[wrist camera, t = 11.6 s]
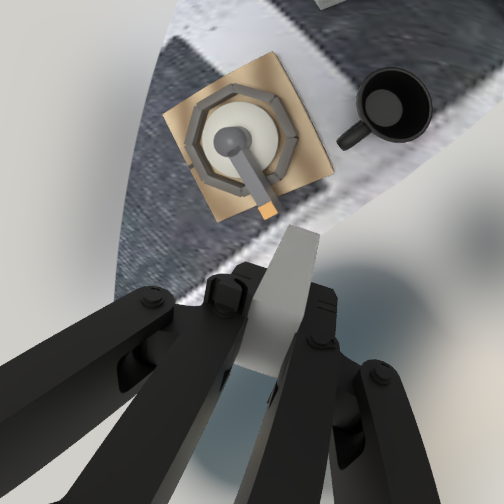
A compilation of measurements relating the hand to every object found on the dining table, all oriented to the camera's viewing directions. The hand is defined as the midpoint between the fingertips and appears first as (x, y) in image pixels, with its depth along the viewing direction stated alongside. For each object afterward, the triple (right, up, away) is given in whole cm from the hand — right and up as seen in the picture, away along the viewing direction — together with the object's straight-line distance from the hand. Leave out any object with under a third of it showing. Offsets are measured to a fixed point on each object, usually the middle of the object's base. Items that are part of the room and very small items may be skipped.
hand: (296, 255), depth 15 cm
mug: (+14, +18, +22) cm, 31 cm away
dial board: (-3, +16, +27) cm, 32 cm away
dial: (-2, +13, +26) cm, 29 cm away
